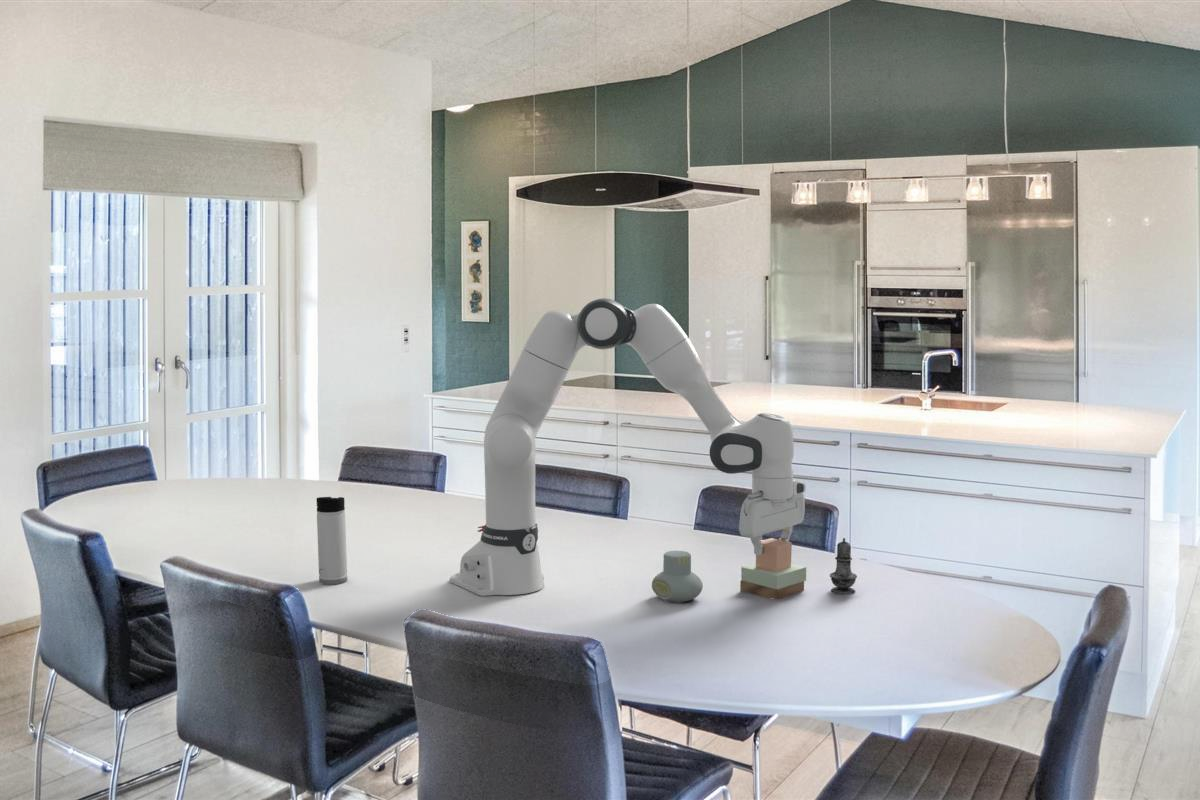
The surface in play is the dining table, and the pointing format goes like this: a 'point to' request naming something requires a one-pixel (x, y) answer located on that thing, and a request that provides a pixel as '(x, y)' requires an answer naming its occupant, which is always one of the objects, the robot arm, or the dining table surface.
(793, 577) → the sage top block
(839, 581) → the dark turned finial
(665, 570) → the air freshener
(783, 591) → the walnut base block
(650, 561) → the dining table surface
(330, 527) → the travel mug
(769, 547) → the terracotta block
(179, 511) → the dining table surface
